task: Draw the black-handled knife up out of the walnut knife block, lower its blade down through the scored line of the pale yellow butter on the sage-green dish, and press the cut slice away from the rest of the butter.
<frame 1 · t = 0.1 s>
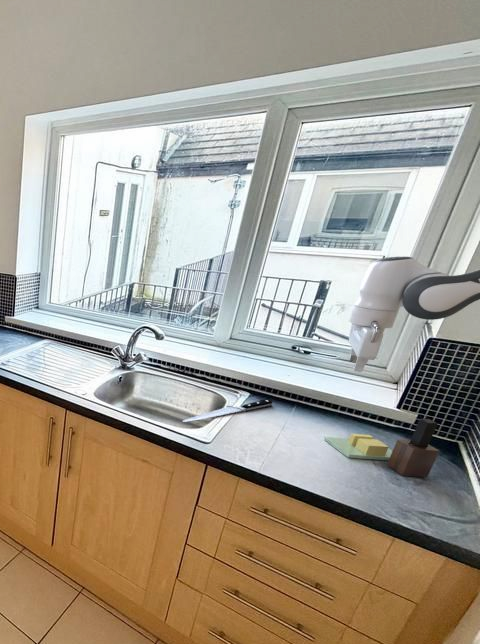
hand: (355, 366, 118), 24 cm above the countertop, tool pointing down, fingers open, 8 cm apart
butter block: (369, 451, 119), point 1 cm above the countertop, touching butter dish
butter dish: (361, 450, 121), on the countertop
butter slice: (359, 444, 122), point 1 cm above the countertop, touching butter dish
steak knife: (226, 414, 142), on the countertop
knife block: (406, 471, 112), on the countertop
knife: (417, 446, 109), in the knife block
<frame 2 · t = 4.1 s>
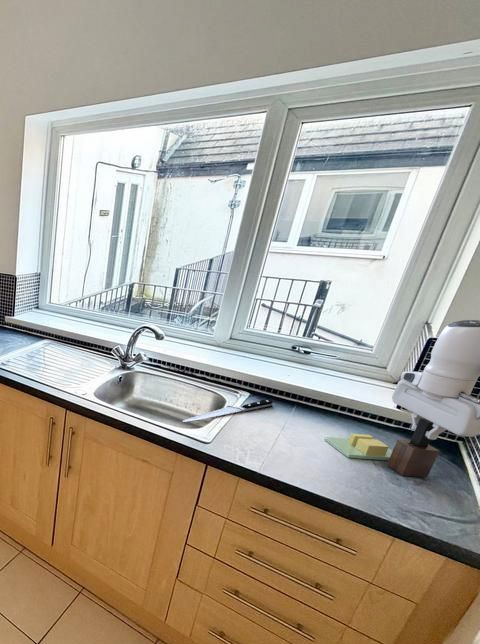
hand: (422, 434, 108), 11 cm above the countertop, tool pointing down, fingers closed on knife, 2 cm apart
knife: (417, 446, 109), in the knife block, touching gripper
everything else where it was.
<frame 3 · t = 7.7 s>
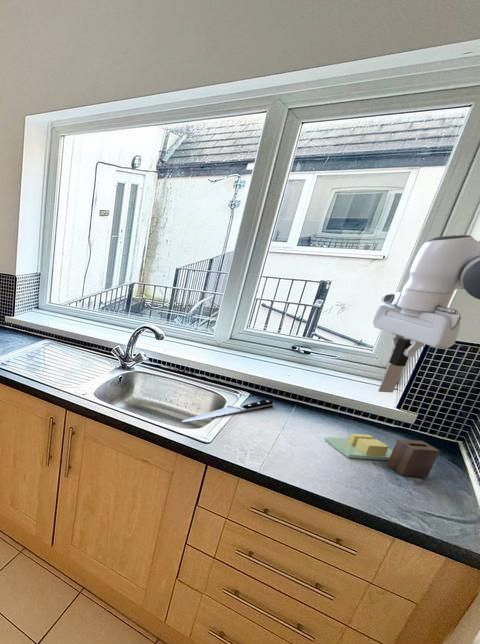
hand: (401, 353, 111), 30 cm above the countertop, tool pointing down, fingers closed on knife, 2 cm apart
knife: (396, 366, 112), point 26 cm above the countertop, touching gripper
everything else where it was.
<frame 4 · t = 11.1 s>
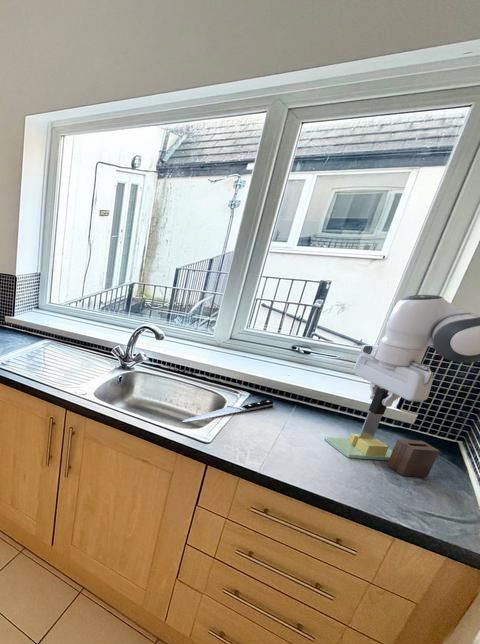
hand: (379, 402, 116), 15 cm above the countertop, tool pointing down, fingers closed on knife, 2 cm apart
knife: (375, 414, 117), point 12 cm above the countertop, touching gripper
everything else where it was.
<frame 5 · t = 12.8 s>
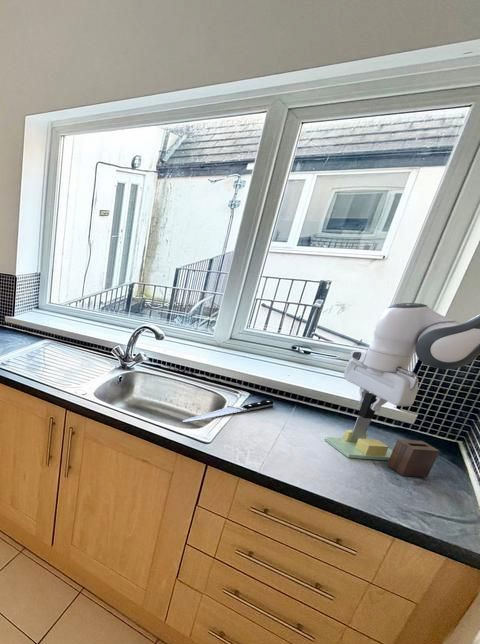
hand: (368, 406, 120), 12 cm above the countertop, tool pointing down, fingers closed on knife, 2 cm apart
butter slice: (353, 440, 125), point 1 cm above the countertop, touching butter dish, knife
knife: (364, 418, 121), point 9 cm above the countertop, touching butter slice, gripper
everything else where it was.
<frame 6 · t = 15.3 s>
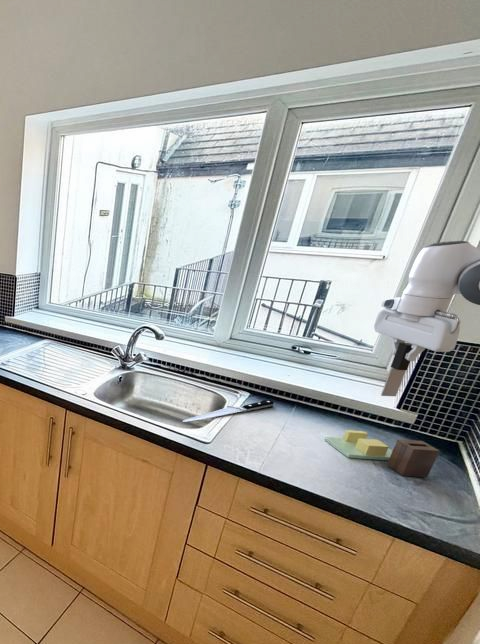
hand: (402, 357, 112), 28 cm above the countertop, tool pointing down, fingers closed on knife, 2 cm apart
butter slice: (353, 440, 125), point 1 cm above the countertop, touching butter dish
knife: (397, 370, 113), point 25 cm above the countertop, touching gripper
everything else where it was.
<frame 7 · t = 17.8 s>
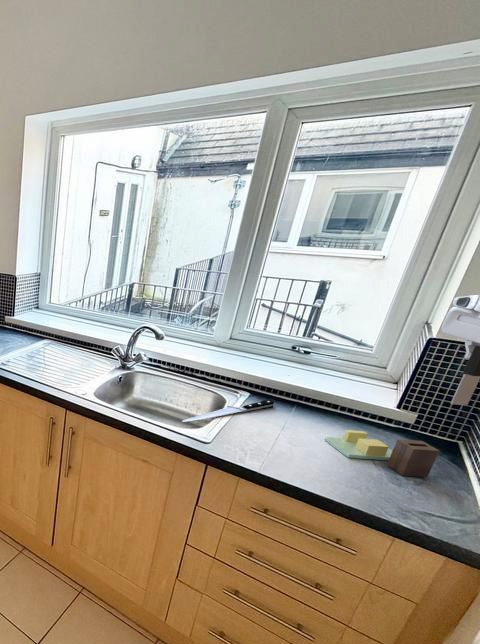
hand: (478, 362, 100), 31 cm above the countertop, tool pointing down, fingers closed on knife, 2 cm apart
knife: (471, 376, 102), point 28 cm above the countertop, touching gripper
everything else where it was.
at the end: butter slice 1.4 cm from the target spot, point 1.0 cm above the countertop; butter slice moved 2.2 cm from its start; butter block moved 0.0 cm from its start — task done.
